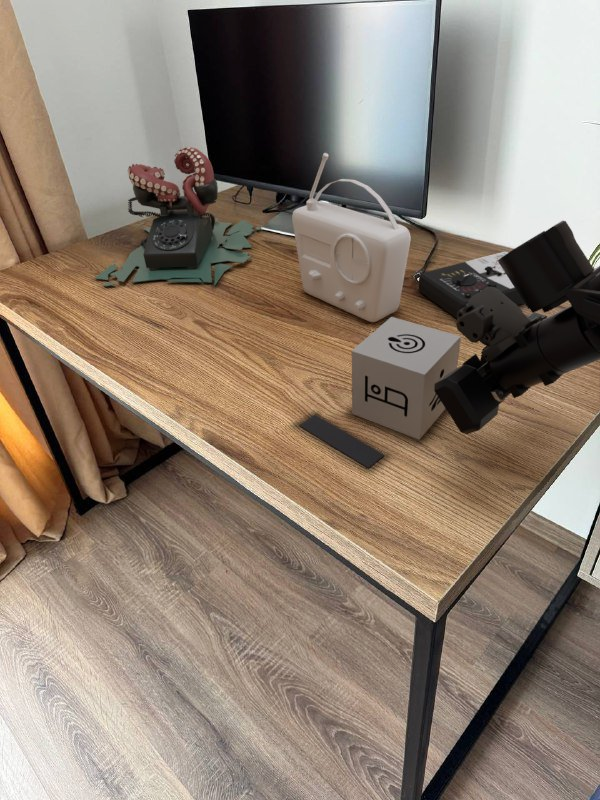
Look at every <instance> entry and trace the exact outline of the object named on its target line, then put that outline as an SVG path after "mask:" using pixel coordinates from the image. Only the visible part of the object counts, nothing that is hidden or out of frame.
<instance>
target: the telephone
mask: <svg viewBox="0 0 600 800" xmlns="http://www.w3.org/2000/svg"><path fill="white" fill-rule="evenodd" d="M173 162H174V165H175V168H176V170H179V171H180V172H181V174H185V175H187V176H185V177H184V178H183V179H182V180H181V181H182V183H181V189H182V190H183V191H182V193H183V195H181V190H180V188H179V186H178V185H177V184H175V183H174V182H170V181H167V180H165V178H166V177H165V175H166V174H165V172H164V168H161V167H157V166H153V167H151V166H149V165H145V164H137V163H135V164H134V163H132V164H131V165H129V166H128V167H127V168H128V169H127V176H128V179H129V180H130V183H131V184H132V191H133V194H134V197H132V198H129V199H127V200H128V202H127V203H128V204H127V205H128V206H127V210H128V213H129V214H130V215H133V216H138V217H140V218H144V216H145V217H146V218H150V217H152V216H153V217H155V218H153V219H152V222H151V225H150V227H143V229H144V231H146V232H147V233H148V234H147V236H146V238H145V239H142V240H141V241H140V246H138V247H137V248H135V249H134V250H133V251H131V252H130V253H129V255H128V257H127V258H126V261H125V262H123V263H121V264H120V265H121V269H119V267H118V266H117V264H116V263H117V260H116V259H115V260H112V263H113V264H110V265H109V266H108V267H106V268H105V269H104V270H102V271H101V272H100V273H99V274H97V275H96V276H94V278H93V279H95V280H104V281H109V275H110V276H111V277H116V281H118V282H121V283H124V282H125V281H126V279H127V278H128V277H129V276H130V275H131V273H132V272H133V271H134V269H136V268H138V269H137V271H136V272H135V275H134V277H133V280H132V283H140V282H150V281H158V280H159V281H160V280H164V281H165V282H167V283H169V282H170V283H208V284H209V283H211V284H212V283H213V278H212V266H211V265H212V264H215V265H214V287H216V285H217V283H218V282H219V280H220V279H221V277H223V275H224V273H225V272H227V271H228V270H229V269H232V268H233V267H234V265H232V264H231V265H230V264H225V262H231V263H239V264H244V263H246V262H247V261H248V260H249V259H251V258H252V257H253V254H250V255H249V252H247V251H242V250H243V249H251V248H253V247H252V245H251V244H250V242H249V241H248V239H247V238H246V237H247V236H249V235H251V234H253V232H254V231H255V230H257V231H259V230H262V227H261V226H256V227H255V229H254V225H253V224H252V223H250V222H248V221H246V220H245V219H241V220H240V221H239V222H237V223H235V224H234V225H233V222H217V221H218V220H219V219H220V217H217V218H216V217H215V215H213V213H211V212H207V210H208V207H209V206H210V205H213V204H215V203H216V202H217V199H218V194H219V189H218V188H219V186H218V180H217V179H216V178H215V174H214V169H213V166H212V162H211V161H210V159H209V158H208V156H207V155H206V154H204V153H203V152H202V151H201V150H199V149H198V148H196V147H192V146H183V147H182V148H181V147H180V148H179V149H178V151H177V152H175V154H174V160H173ZM135 201H137V202H138V204H140V205H141V206H143V207H148V208H149V207H150V208H153V209H159V213H158V212H155V211H148V210H146V211H138V210H137V211H135V210H133V202H135ZM146 223H147V222H146V221H145V222H140V223H139V224H138V228H140V227H142V226H144V225H145V224H146ZM231 225H232V226H231ZM230 226H231V228H230V229H229V231H227V233H225V231H226V229H227V228H229V227H230ZM224 234H226V235H224ZM220 245H221V246H222V247H220ZM236 250H237V251H236ZM118 269H119V270H118ZM116 270H117V271H116ZM115 285H117V283H116V282H111V281H110V282H106V283H102V286H104V287H111V286H115Z"/></svg>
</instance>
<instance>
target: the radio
mask: <svg viewBox="0 0 600 800" xmlns="http://www.w3.org/2000/svg"><path fill="white" fill-rule="evenodd" d="M321 158H322V159H321V163H320V165H319V167H318V171H317V173H316V176H315V180H314V183H313V185H312V187H311V191H310V194H309V199H307V200H306V202H305V204H306V205H304V206H300V207H298V208H296V209H294V210H293V212H292V215H291V221H292V228H293V233H294V239H295V245H296V254H297V259H298V265H299V271H300V278H301V284H302V289H303V291H304V292H305V293H306V294H308V295H309V296H312V297H315V298H317V299H319V300H321V301H323V302H325V303H327V304H328V305H329V304H330V305H331V306H333V307H336V308H338V309H340V310H342V311H345V312H347V313H349V314H351V315H354V316H356V317H358V318H360V319H362V320H365V321H367V322H370V323H377V322H379V321H380V320H382V319H383V318H386V317H388V316H390V315H392V314H393V313H395V312H396V311H397V310H398V309H399V307H400V302H401V297H402V292H403V291H402V290H403V285H404V280H405V275H406V268H407V263H408V257H409V252H410V245H411V240H412V239H411V238H412V237H411V233H410V230H409V229H408V228H407V227H406V226H404V225H402V224H400V223H397V220H396V219H395V217H394V214H393V212H392V210H391V208H389V206H388V205H387V204H386V202H385V201H384V200H383V197H381V195H380V194H378V193H377V192H376V191H375V190H374V189H372V188H371V187H370V186H369V185H367V184H365V183H363V182H361V181H358V180H356V179H350V178H341V179H338V180H335V181H332V182H329V183H327V184H325V185H324V186H323V187H322V188H321V189H319V191H318V192H317V193H316V195H315V192H316V190H317V188H318V184H319V181H320V179H321V176H322V173H323V170H324V167H325V165H326V162H327V161H328V159H329V154H328V153H327V152H324V153H323V154H322V157H321ZM337 182H344V183H346V182H347V183H352V184H354V185H356V186H359V187H361V188H363V189H364V190H366V191H367V192H368V193H369V194H370V195H371V196H372V197H373V198H374V199H376V201H377V203H378V204H379V205H380V206H381V208H382V209H383V210H384V212H385V213H386V215H387V218H388V220H387V219H382V218H379V217H376V216H374V215H373V216H372V215H370V214H366V213H362V212H359V211H356V210H354V209H350V208H346V207H344V206H343V207H342V206H340V205H336V204H333V203H330V202H326V201H323V200H319V199H320V197H321V195H322V193H323V192H324V191H325V190H326V189H327V188H328V187H329V186H330V185H331V184H334V183H337ZM314 195H315V197H314Z"/></svg>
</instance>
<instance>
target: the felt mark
mask: <svg viewBox="0 0 600 800" xmlns="http://www.w3.org/2000/svg"><path fill="white" fill-rule="evenodd" d="M298 427H300V428H301V429H303V430H304V431H306V432H308V433H310V434H311V435H313V436H314V437H316V438H317V439H319V440H321V441H322V442H324V443H326V444H327V445H329V446H330V447H332V448H334V449H335V450H336V451H339V452H340V453H342V454H343V455H345V456H347V457H348V458H350V459H352V460H354V461H355V462H356V463H358V464H360V465H361V466H362V467H363V466H364V467H365V468H366V469H370V468H371V467H372V466H374V465H375V464H376V463H377V462H379V461H380V460H381V459H383V458H384V457H385V454H383V453H382V452H380V451H378V450H377V449H375V448H373V447H371V446H370V445H368V444H367V443H365V442H363V441H361V440H359V439H358V438H356V437H354V436H353V435H352V434H349V433H347V432H346V431H344V430H343V429H340V428H339V427H337V426H336V425H334V424H332V423H331V422H328V421H327V420H325V419H324V418H322V417H320V416H319V415H317V414H313V415H312V416H310V417H309V418H307V419H306V420H305V421H303V422H301V423H300V424H298Z"/></svg>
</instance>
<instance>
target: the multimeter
mask: <svg viewBox="0 0 600 800" xmlns="http://www.w3.org/2000/svg"><path fill="white" fill-rule="evenodd" d="M507 253H509V252H508V251H501V252H498V253H493V254H490V255H486V256H482V257H478V258H474V259H470V260H467V261H463V262H459V263H455V264H451V265H447V266H443V267H440V268H436V269H433V270H429V271H424V272H422V273H420V275H418V276H419V277H418V291H419V292H420V293H421V294H423V295H424V296H425V297H427V298H428V299H429V300H431V301H432V302H433V303H435V304H436V305H438V306H439V307H440V308H442V309H443V310H444V311H446V312H447V313H449V314H450V315H452V316H453V317H454V318H455V319H457V315H456V314H457V312H458V311H459V310H461V309H462V308H464V307H465V306H466V304H467V303H468V301H469V300H470V298H471V297H473V296H474V295H476V294H477V293H479V292H480V291H482V290H484V289H485V288H487V287H494V288H496V289H498V290H499V291H500V292H502V293H503V294H504V295H505V296H506V297H508V298H509V299H510V300H511V301H512V302H514V303H515V304H516V305H517V306H520V305H525V303H524V301H523V300H522V298H521V297H520V295H519V294H518V292H517V290H516V289H515V287H514V286H513V284H512V283H511V281H510V279H509V278H508V276H507V275H506V273H505V272H504V270H503V269H502V267H501V265H500V264H499V262H498V260H499V259H500V258H502V257H503V256H504V255H506V254H507Z"/></svg>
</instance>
